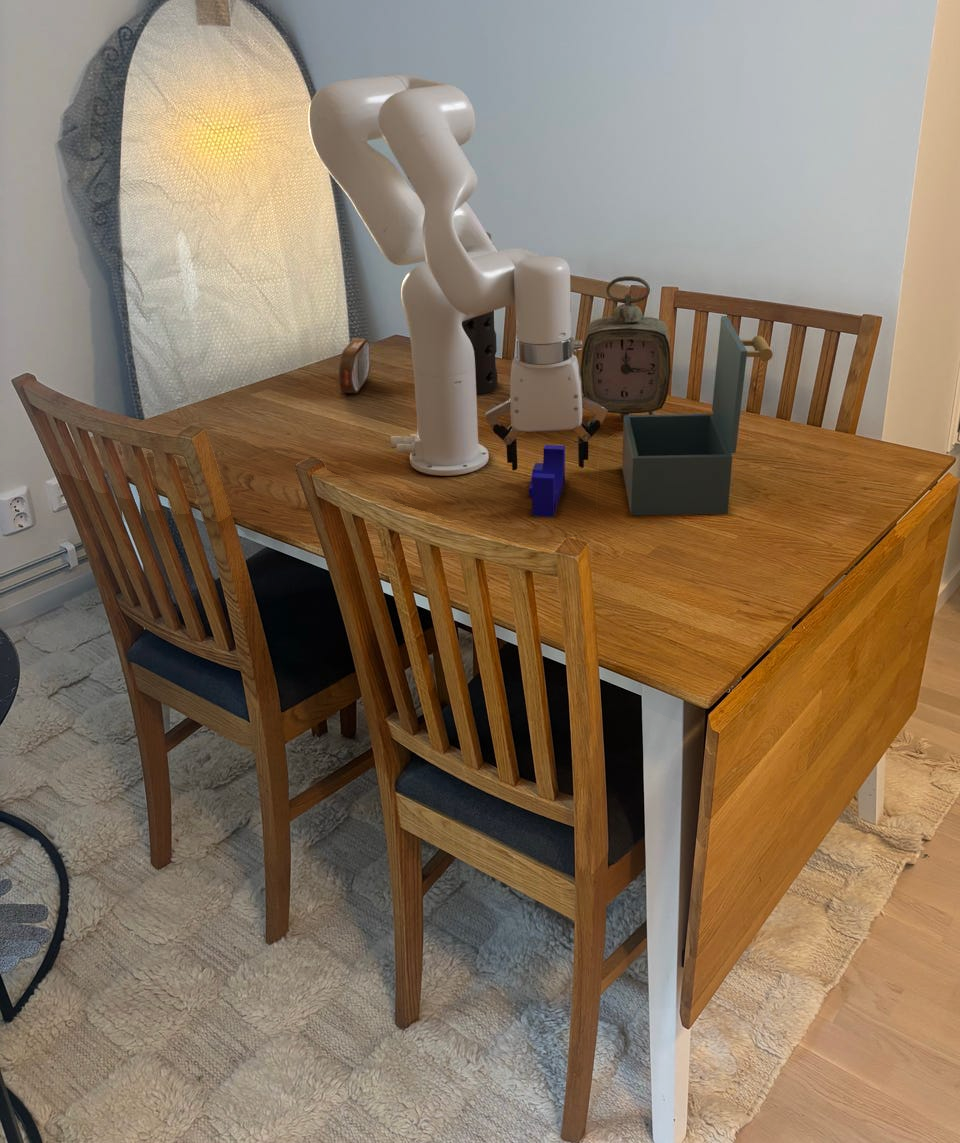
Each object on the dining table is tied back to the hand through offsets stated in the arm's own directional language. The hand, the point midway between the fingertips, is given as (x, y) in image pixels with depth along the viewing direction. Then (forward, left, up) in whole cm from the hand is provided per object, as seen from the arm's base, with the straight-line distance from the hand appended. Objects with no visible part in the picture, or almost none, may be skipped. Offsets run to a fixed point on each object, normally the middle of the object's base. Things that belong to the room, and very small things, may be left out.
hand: (547, 465), depth 156 cm
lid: (+25, +2, +11) cm, 28 cm away
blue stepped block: (-1, 0, -6) cm, 6 cm away
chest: (+18, +2, -5) cm, 19 cm away
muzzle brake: (-14, +50, -5) cm, 52 cm away
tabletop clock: (+13, +30, -5) cm, 33 cm away
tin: (-36, +52, -5) cm, 63 cm away
